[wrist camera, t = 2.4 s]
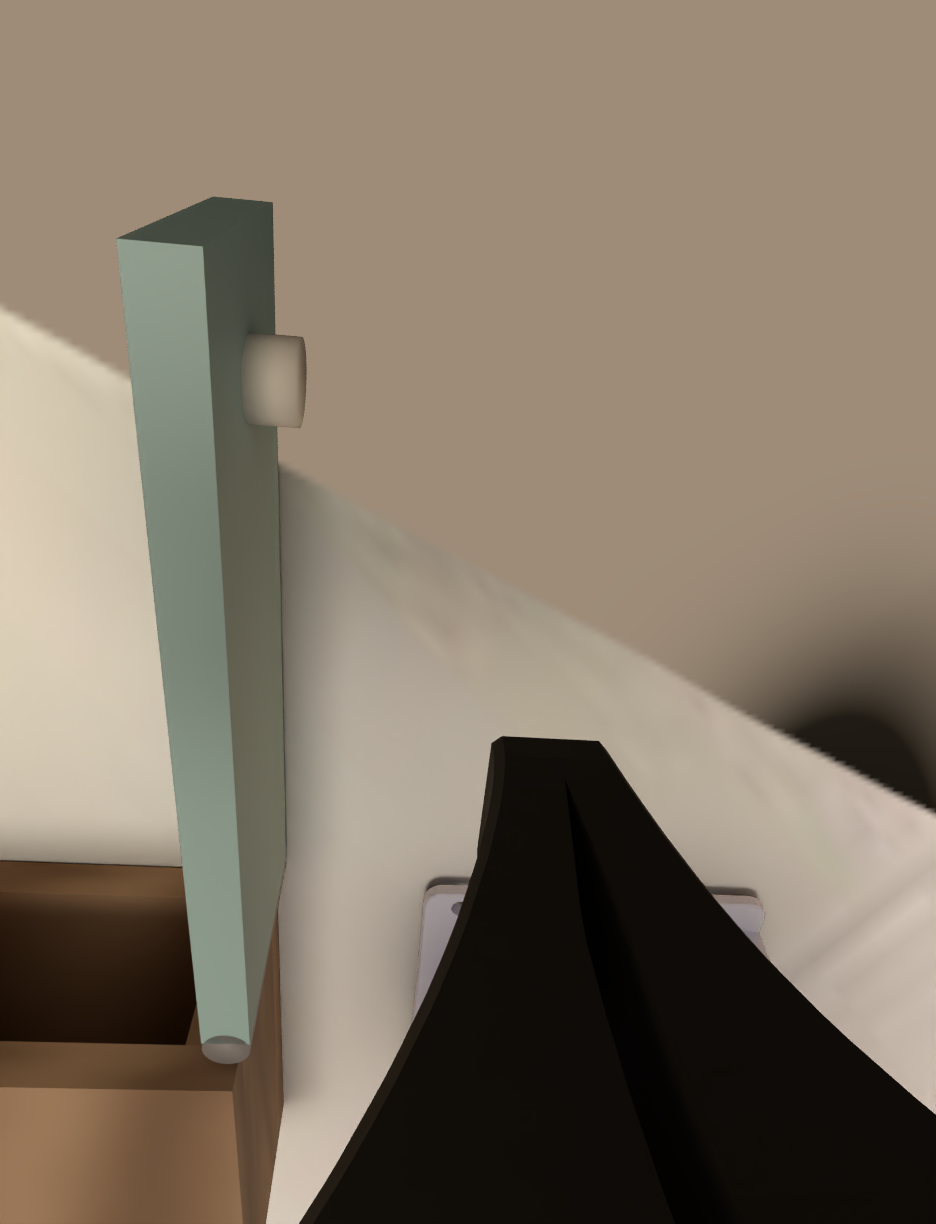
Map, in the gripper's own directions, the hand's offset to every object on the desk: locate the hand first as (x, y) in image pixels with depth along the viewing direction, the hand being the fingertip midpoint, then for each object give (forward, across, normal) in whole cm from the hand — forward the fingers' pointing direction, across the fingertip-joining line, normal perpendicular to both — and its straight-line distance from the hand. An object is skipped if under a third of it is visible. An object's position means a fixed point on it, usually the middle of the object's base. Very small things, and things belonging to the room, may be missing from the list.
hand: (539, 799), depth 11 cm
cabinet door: (+8, +5, +2) cm, 10 cm away
